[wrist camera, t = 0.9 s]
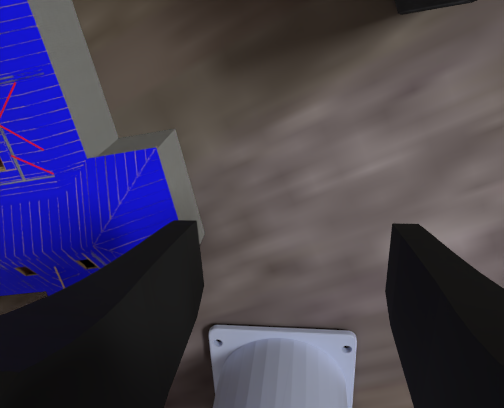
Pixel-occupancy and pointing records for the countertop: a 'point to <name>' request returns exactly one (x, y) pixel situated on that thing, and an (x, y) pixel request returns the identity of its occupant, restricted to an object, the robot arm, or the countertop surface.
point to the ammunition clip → (425, 5)
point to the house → (72, 159)
